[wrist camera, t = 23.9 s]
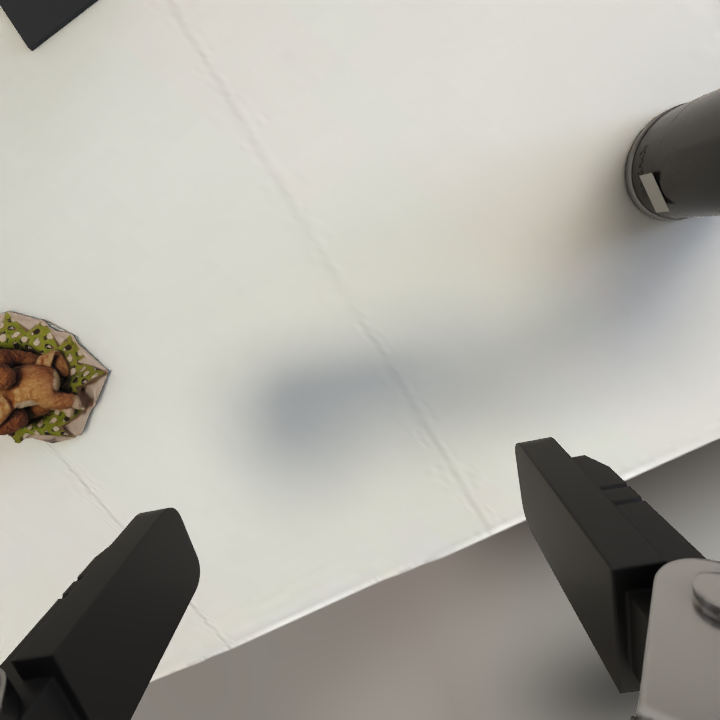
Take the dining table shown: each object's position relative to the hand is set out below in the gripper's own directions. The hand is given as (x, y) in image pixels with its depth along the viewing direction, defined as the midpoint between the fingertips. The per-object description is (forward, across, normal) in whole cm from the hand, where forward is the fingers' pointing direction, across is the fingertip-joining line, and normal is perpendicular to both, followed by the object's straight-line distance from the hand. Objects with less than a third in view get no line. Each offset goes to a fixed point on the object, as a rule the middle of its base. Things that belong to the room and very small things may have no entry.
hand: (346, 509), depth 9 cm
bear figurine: (+32, +36, 0) cm, 48 cm away
